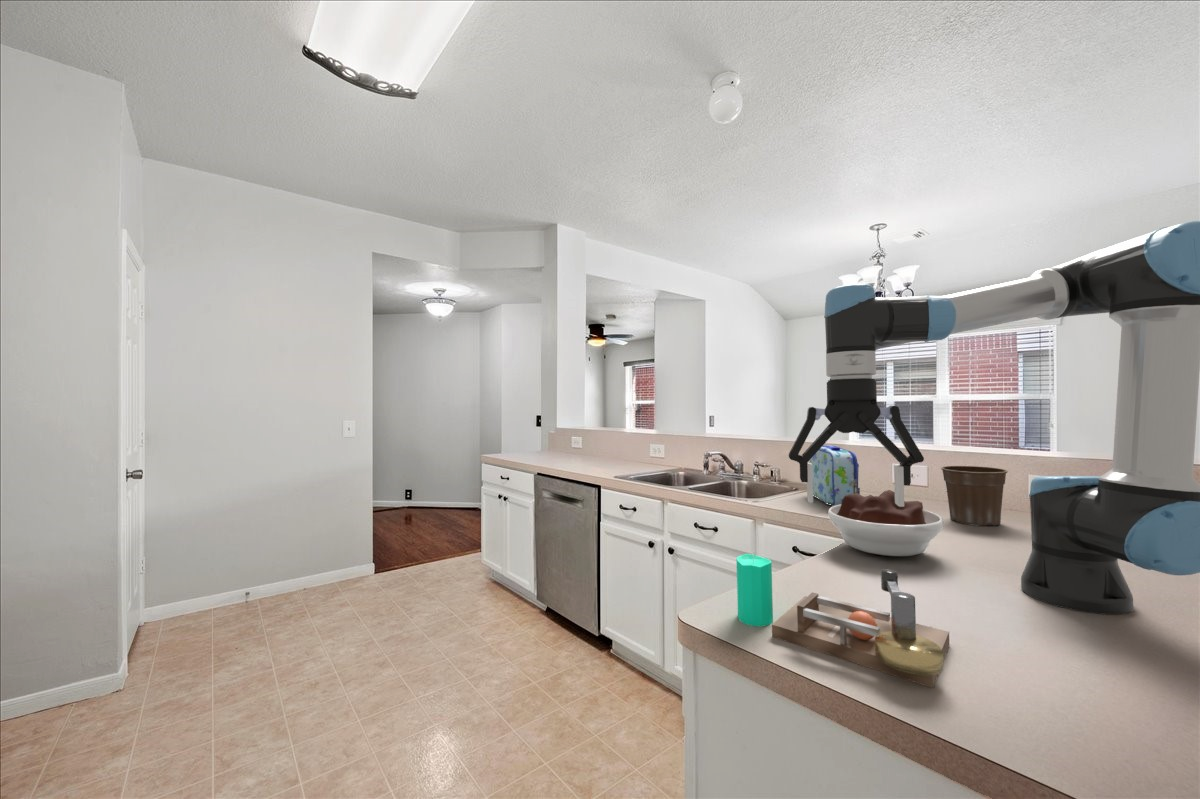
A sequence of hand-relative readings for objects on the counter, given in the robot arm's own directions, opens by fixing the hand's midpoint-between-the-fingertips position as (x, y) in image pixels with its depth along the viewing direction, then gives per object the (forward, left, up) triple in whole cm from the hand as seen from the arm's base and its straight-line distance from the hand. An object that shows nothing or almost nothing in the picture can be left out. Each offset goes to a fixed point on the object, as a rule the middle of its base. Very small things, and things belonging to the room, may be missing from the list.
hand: (853, 503), depth 83 cm
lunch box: (+34, -101, -21) cm, 109 cm away
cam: (-8, +6, -19) cm, 21 cm away
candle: (+14, +8, -21) cm, 27 cm away
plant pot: (-8, -96, -21) cm, 99 cm away
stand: (-2, +5, -21) cm, 22 cm away
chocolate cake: (+6, -48, -21) cm, 53 cm away
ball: (-3, +8, -19) cm, 21 cm away
